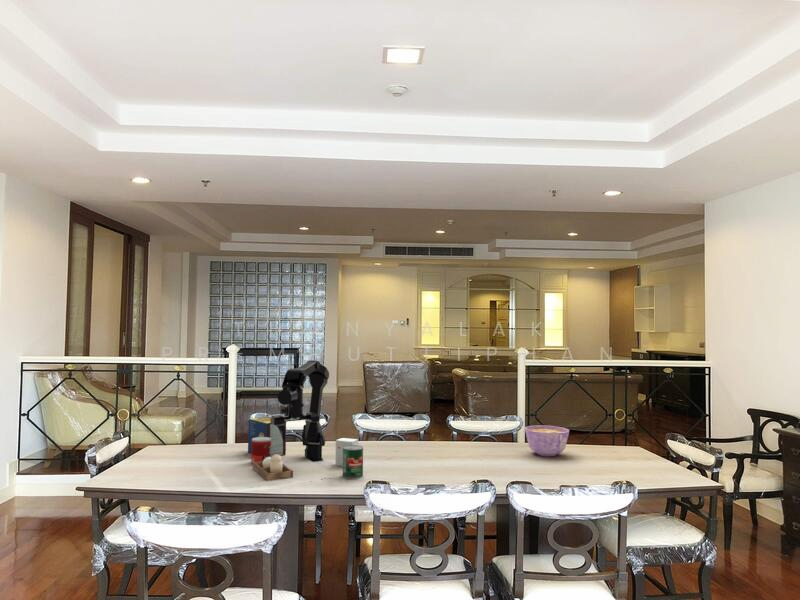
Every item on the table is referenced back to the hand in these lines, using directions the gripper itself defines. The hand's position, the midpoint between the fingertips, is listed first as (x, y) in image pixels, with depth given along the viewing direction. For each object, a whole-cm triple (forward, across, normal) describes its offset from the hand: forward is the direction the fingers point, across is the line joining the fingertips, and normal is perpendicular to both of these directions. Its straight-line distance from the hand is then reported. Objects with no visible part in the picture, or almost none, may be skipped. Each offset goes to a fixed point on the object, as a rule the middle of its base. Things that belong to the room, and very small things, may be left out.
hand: (295, 440), depth 221 cm
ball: (+11, +10, -1) cm, 15 cm away
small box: (+13, -22, 0) cm, 26 cm away
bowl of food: (+14, -112, +23) cm, 116 cm away
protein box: (+13, +2, -34) cm, 37 cm away
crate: (+12, +10, +4) cm, 16 cm away
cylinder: (+10, +10, +8) cm, 17 cm away
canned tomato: (+12, -17, +18) cm, 28 cm away
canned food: (+12, +10, -14) cm, 21 cm away
